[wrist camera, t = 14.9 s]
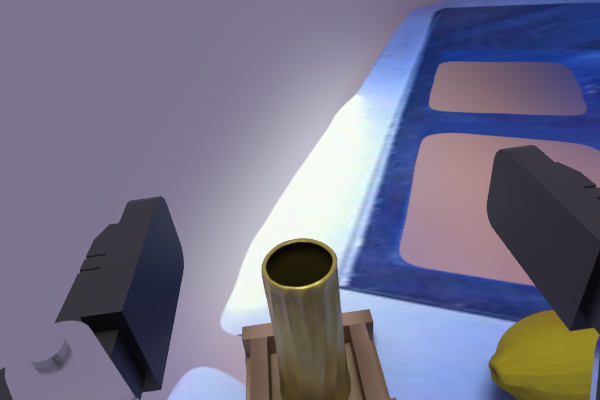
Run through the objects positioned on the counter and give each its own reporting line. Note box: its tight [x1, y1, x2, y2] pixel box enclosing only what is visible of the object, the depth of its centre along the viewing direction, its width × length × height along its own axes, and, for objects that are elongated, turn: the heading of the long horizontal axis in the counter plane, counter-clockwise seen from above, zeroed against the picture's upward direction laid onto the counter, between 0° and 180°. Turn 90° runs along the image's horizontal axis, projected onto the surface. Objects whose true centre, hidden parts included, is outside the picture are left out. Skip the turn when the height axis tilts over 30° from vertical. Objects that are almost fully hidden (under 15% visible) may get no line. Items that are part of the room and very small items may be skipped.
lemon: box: [489, 310, 600, 400], centre depth 34 cm, size 11×8×8 cm
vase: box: [262, 238, 351, 400], centre depth 34 cm, size 6×6×14 cm
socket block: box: [242, 309, 396, 400], centre depth 38 cm, size 12×12×4 cm
